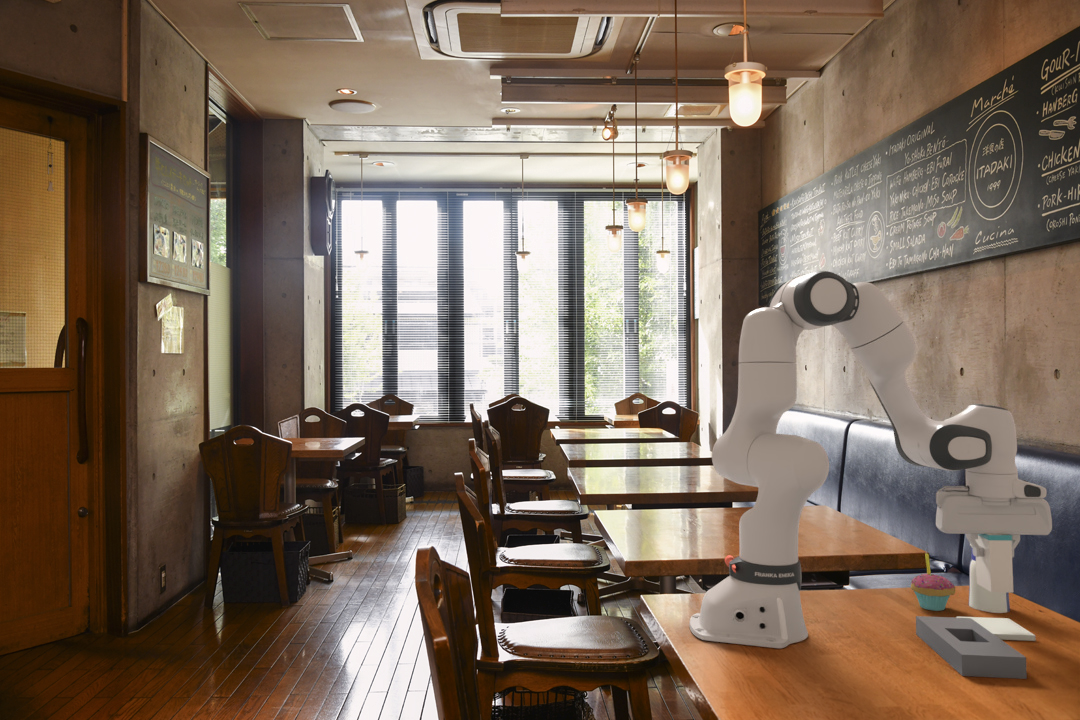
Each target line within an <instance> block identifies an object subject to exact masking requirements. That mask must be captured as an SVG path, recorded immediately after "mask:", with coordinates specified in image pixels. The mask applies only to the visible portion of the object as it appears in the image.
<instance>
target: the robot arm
mask: <svg viewBox="0 0 1080 720" xmlns="http://www.w3.org/2000/svg"><path fill="white" fill-rule="evenodd" d="M742 321H743V322H742V326H741V330H740V338H739V345H738V380H737V381H738V384H737V387H738V388H737V400H736V406H735V410H734V414H733V416H732V418H731V421H730V423H729V426H727V428H726V430H725V432H724V433H723V434H722V435H720V436H719V437H718V438H717V439H716V441H715V443H714V444H713V448H712V452H711V461H712V465H713V468H714V470H715V472H716V473H717V474H718V475H719V476H720V477H722V478H725V479H726V480H729V481H731V482H733V483H736V484H738V485H741V486H742V485H743V486H749V487H755V488H758V491H757V492H758V493H757V497H756V500H755V503H754V505H753V507H752V508H749V509H747V510H746V511H745V512H744V513H743V514H742V515H741V516H740V519H739V520H738V521H739V522H738V524H739V526H738V527H739V530H738V533H739V538H738V540H739V541H738V542H739V543H738V544H739V555H738V556H735V557H734V556H733V555H730V554H728V555H726V556H725V557H724V563H725V565H726V566H727V567H728V568H729V569H728V571H729V572H728V573H729V576H727V577H726V578H724V579H723V580H721V581H720V582H718V583H717V584H715V585H714V586H713V587H711V588H709V589H708V590H707V591H706V592H705V594H704V596H703V598H702V601H701V605H700V610H699V611H700V612H697V613H694V614H693V615H691V617H690V619H689V629H690V632H691V633H692V634H693V635H694V636H695V637H696V638H698V639H700V640H702V641H708V642H717V643H719V642H720V643H726V644H727V643H728V644H737V645H745V646H752V647H753V646H756V647H762V648H763V647H764V648H774V649H783V648H786V647H787V646H789V645H791V644H794V643H798V642H802V641H804V640H806V639H807V638H808V637H809V632H808V629H807V626H806V622H805V618H804V614H803V609H802V603H801V592H800V591H801V588H802V567H801V561H800V560H799V529H800V528H799V527H800V519H801V515H802V512H803V509H804V507H805V505H806V503H807V501H808V500H809V499H810V497H811V495H812V494H813V493H815V492H816V491H817V490H819V489H821V487H822V486H824V484H825V482H826V480H827V478H828V476H829V471H830V460H829V456H828V454H827V452H826V449H825V448H824V447H823V445H822V444H820V443H819V442H817V441H814V440H812V439H809V438H807V437H802V436H799V435H797V434H796V435H795V434H787V433H786V434H784V433H777V430H778V429H777V428H778V425H779V422H780V419H781V417H782V416H783V414H785V413H786V412H788V411H789V410H791V409H792V408H793V406H794V405H795V404H796V401H797V398H798V397H797V395H798V394H797V392H798V391H797V387H798V386H797V383H798V382H797V379H798V378H797V374H798V373H797V348H796V347H797V343H798V340H799V337H800V334H801V333H802V332H803V331H804V330H806V331H811V330H813V331H814V330H817V329H820V328H823V327H827V326H832V327H834V329H836V330H837V331H839V333H840V334H841V335H842V336H843V338H844V340H845V341H846V343H847V345H848V347H849V348H850V350H851V352H852V353H853V355H854V356H855V358H856V360H857V361H858V363H859V365H860V366H861V368H862V370H864V374H865V375H866V377H867V379H868V380H869V383H870V385H871V388H872V389H873V391H874V394H875V395H876V397H877V399H878V401H879V403H880V404H881V407H882V409H883V410H884V413H885V414H886V416H887V419H888V420H889V423H890V424H891V427H892V430H893V431H892V432H893V436H894V443H895V447H896V450H897V452H898V454H899V455H900V457H901V458H902V459H903V460H904V461H905V462H907V463H909V464H910V465H912V466H915V467H916V466H917V467H929V468H932V469H936V470H937V469H938V470H942V471H943V470H944V471H949V472H955V471H956V472H957V471H962V470H965V485H956V486H955V485H953V486H951V485H944V486H943V487H941V488H939V489H938V490H937V492H936V493H935V504H936V505H937V507H936V513H935V526H936V528H937V529H938V531H940V532H941V533H944V534H949V535H950V534H955V535H956V534H958V535H960V534H963V535H965V538H966V540H967V541H968V543H970V544H971V545H972V548H973V555H974V556H976V557H984V556H985V554H984V548H983V547H981V546H979V545H978V544H977V542H976V540H975V539H978V534H1010V535H1012V540H1011V542H1012V558H1015V549H1016V547H1017V546H1018V544H1019V543H1020V541H1021V535H1022V536H1023V535H1024V536H1025V535H1027V536H1048V535H1050V533H1051V531H1052V530H1053V519H1052V512H1051V507H1050V504H1049V502H1048V501H1047V500H1046V499H1045V498H1046V497H1047V491H1048V490H1047V488H1046V487H1044V486H1041V485H1039V484H1035V483H1032V482H1029V481H1028V480H1025V479H1021V478H1019V475H1018V474H1019V473H1018V471H1019V470H1018V468H1017V465H1016V455H1017V452H1018V440H1017V439H1018V438H1017V429H1016V422H1015V419H1014V416H1013V414H1012V412H1011V411H1010V410H1008V409H1007V408H1004V407H1001V406H996V405H991V404H990V405H989V404H983V403H973V404H969V405H968V406H967V407H966V408H965V409H963V410H962V411H961V412H959V413H957V414H955V415H953V416H952V417H949V418H947V419H944V420H934V419H932V418H930V417H928V416H927V415H926V414H925V413H924V412H923V411H922V410H921V409H920V406H919V405H918V403H917V400H916V398H915V397H914V395H913V393H912V391H911V389H910V387H909V385H908V384H907V379H906V371H907V370H908V369H909V368H910V366H912V364H913V362H914V360H915V357H916V355H917V345H916V343H915V340H914V336H913V335H912V333H911V331H910V329H909V327H908V326H907V324H906V322H905V321H904V319H903V318H902V316H901V315H900V313H899V312H898V310H897V309H896V308H895V306H894V305H893V304H892V302H891V301H890V300H889V298H888V297H887V296H885V294H884V293H883V292H882V291H881V290H880V289H879V287H877V286H876V285H875V284H874V283H871V282H868V281H860V282H854V283H851V282H849V281H848V280H846V279H845V278H844V277H842V276H841V275H839V274H838V273H836V272H835V273H834V272H832V271H829V270H817V271H816V270H815V271H812V272H809V273H806V274H800V275H797V276H794V277H793V278H791V279H789V280H788V281H786V282H783V283H781V284H780V285H779V286H778V287H777V288H776V289H775V291H774V292H773V294H772V296H771V297H770V299H769V302H768V303H767V304H766V306H764V307H760V308H759V307H758V308H756V309H754V310H752V311H750V312H749V313H747V314H746V315H745V317H744V318H743V320H742Z"/></svg>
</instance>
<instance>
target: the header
mask: <svg viewBox="0 0 1080 720" xmlns="http://www.w3.org/2000/svg"><path fill="white" fill-rule="evenodd" d="M915 635H916V636H918V638H919V639H920V640H922V641H923V642H924V644H926V645H927V646H928V647H930V648H931V650H932V651H934V652H935V653H936V655H939V657H941V658H942V659H943V660H944V661H945V662H946V663H948V665H949V666H950V667H952V669H954V670H955V671H956V672H957V673H958V674H959V675H961V676H962V677H978V678H980V677H981V678H1000V679H1020V680H1021V679H1025V680H1027V679H1028V678H1027V675H1028V674H1027V657H1026V656H1025V655H1024V654H1022V653H1021V652H1019V651H1018V650H1016V649H1015V648H1013V646H1011V645H1010V644H1008V643H1007V642H1005V640H1004V641H1003V640H1002V639H999V638H998V637H997V636H995V635H994V634H992V633H991V632H990V631H988V630H987V629H985V628H984V627H983V626H981V625H980V624H978V623H977V622H975V621H974V620H973V619H971V618H956V617H950V616H948V617H947V616H924V615H922V616H920V615H918V616H917V615H916V616H915Z"/></svg>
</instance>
